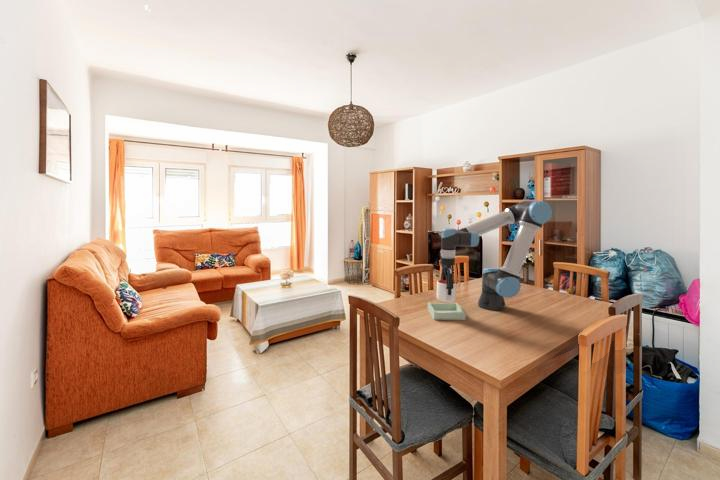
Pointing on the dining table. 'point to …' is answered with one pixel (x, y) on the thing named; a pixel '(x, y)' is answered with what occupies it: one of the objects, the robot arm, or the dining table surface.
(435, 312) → the pale green square tray
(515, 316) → the dining table surface
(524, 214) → the robot arm
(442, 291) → the cup
